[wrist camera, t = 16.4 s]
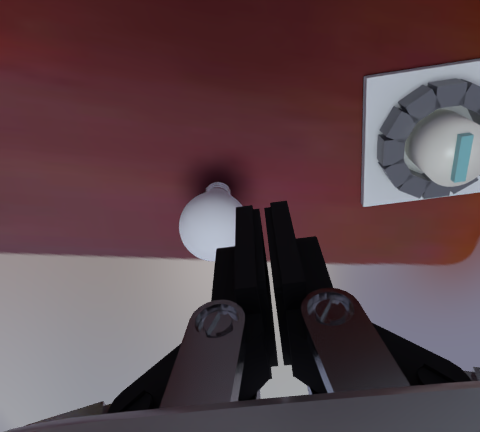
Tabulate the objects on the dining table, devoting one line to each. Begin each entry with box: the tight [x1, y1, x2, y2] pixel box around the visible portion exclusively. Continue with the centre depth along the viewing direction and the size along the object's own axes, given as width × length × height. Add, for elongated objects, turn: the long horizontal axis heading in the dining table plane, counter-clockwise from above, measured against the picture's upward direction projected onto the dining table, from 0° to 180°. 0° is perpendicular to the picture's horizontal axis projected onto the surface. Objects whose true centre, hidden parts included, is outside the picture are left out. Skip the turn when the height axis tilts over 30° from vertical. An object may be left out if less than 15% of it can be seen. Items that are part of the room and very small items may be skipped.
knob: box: [405, 109, 480, 187], centre depth 35 cm, size 6×6×6 cm
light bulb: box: [179, 182, 242, 261], centre depth 37 cm, size 7×7×11 cm
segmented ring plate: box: [361, 58, 480, 207], centre depth 37 cm, size 14×14×3 cm
